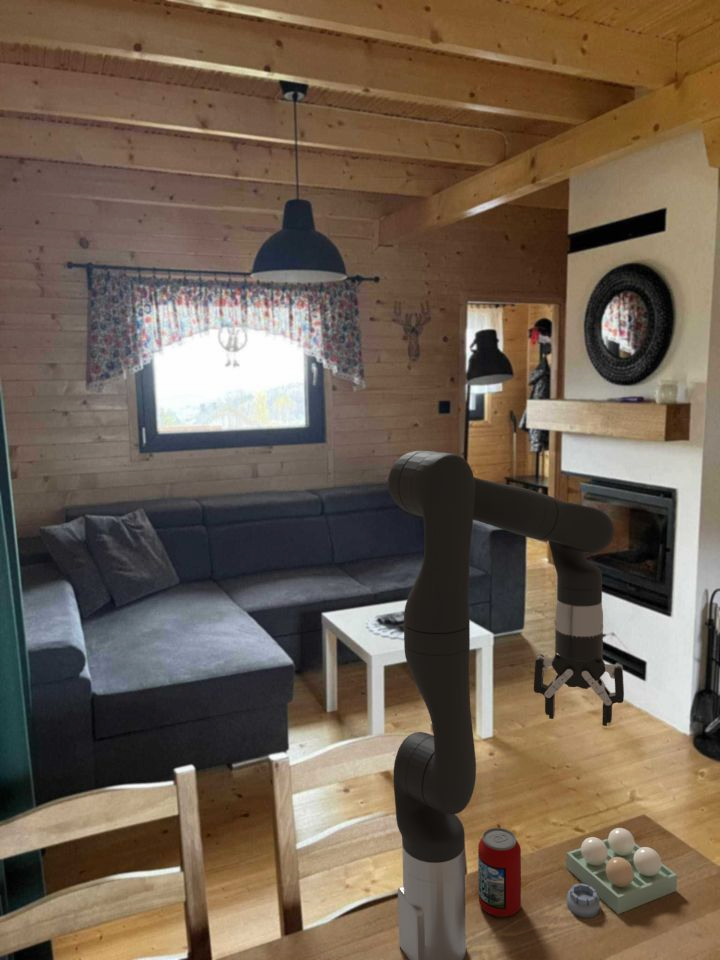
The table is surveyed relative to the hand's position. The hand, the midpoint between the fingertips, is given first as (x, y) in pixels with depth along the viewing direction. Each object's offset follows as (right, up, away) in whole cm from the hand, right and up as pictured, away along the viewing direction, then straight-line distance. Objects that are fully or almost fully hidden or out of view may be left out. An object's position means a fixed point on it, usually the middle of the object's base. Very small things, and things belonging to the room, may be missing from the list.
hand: (577, 720), depth 123 cm
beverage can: (-14, -29, -3) cm, 33 cm away
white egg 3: (+12, -26, +1) cm, 28 cm away
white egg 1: (+4, -26, +4) cm, 26 cm away
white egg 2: (+9, -25, +6) cm, 28 cm away
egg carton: (+8, -28, +2) cm, 29 cm away
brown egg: (+6, -26, -2) cm, 27 cm away
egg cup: (0, -29, -4) cm, 29 cm away
